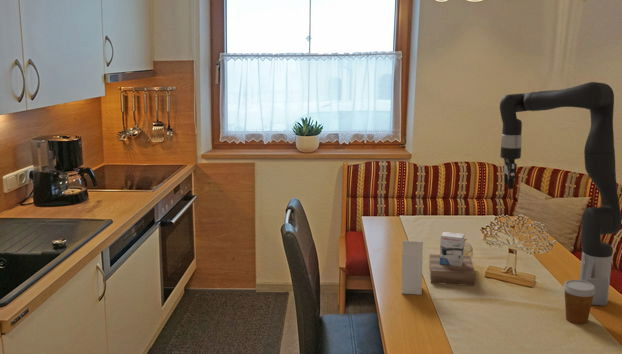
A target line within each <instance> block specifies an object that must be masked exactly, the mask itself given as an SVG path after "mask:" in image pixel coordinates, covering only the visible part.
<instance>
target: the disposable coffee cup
mask: <svg viewBox="0 0 622 354" xmlns="http://www.w3.org/2000/svg"><path fill="white" fill-rule="evenodd" d="M562 288H563V290H564V303H565V304H564V305H565V307H564V308H565V319H566V320H567V321H568V322H570V323H572V324H578V325H584V324H587V323H588V320H589V316H590V313H591V308H592V306H593V305H592V300H593V296H594V294H595V293H596V290H595V287H594V285H593V284H591V283H589V282H586V281H582V280H580V279H569V280H566V281H565V282H564V284H563V286H562Z"/></svg>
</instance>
